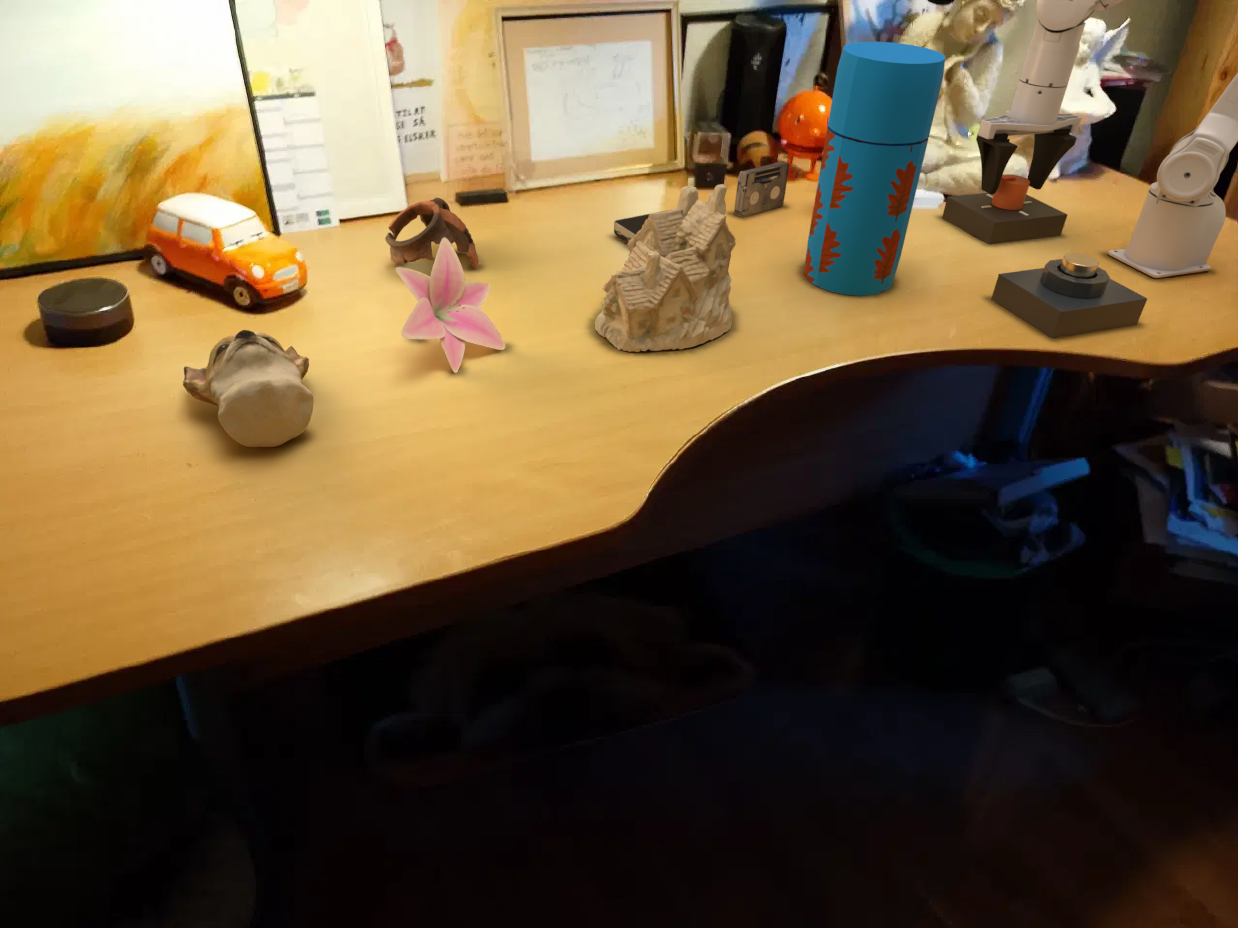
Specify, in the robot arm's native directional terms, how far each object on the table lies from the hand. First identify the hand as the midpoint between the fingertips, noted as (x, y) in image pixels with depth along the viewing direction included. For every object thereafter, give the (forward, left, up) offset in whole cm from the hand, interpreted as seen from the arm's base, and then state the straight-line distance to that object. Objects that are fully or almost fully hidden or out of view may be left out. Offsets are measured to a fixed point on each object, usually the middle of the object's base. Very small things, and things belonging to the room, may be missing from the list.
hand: (1011, 189), depth 121 cm
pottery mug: (+76, -8, -5) cm, 77 cm away
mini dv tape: (+30, -14, -5) cm, 34 cm away
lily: (+79, +14, -5) cm, 80 cm away
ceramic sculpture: (+97, +21, -5) cm, 99 cm away
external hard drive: (+47, -8, -5) cm, 48 cm away
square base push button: (+11, +24, -5) cm, 27 cm away
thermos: (+30, +9, -5) cm, 32 cm away
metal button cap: (+11, +24, -1) cm, 26 cm away
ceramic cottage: (+56, +12, -5) cm, 58 cm away
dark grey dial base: (0, 0, -5) cm, 5 cm away
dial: (0, 0, -2) cm, 2 cm away
